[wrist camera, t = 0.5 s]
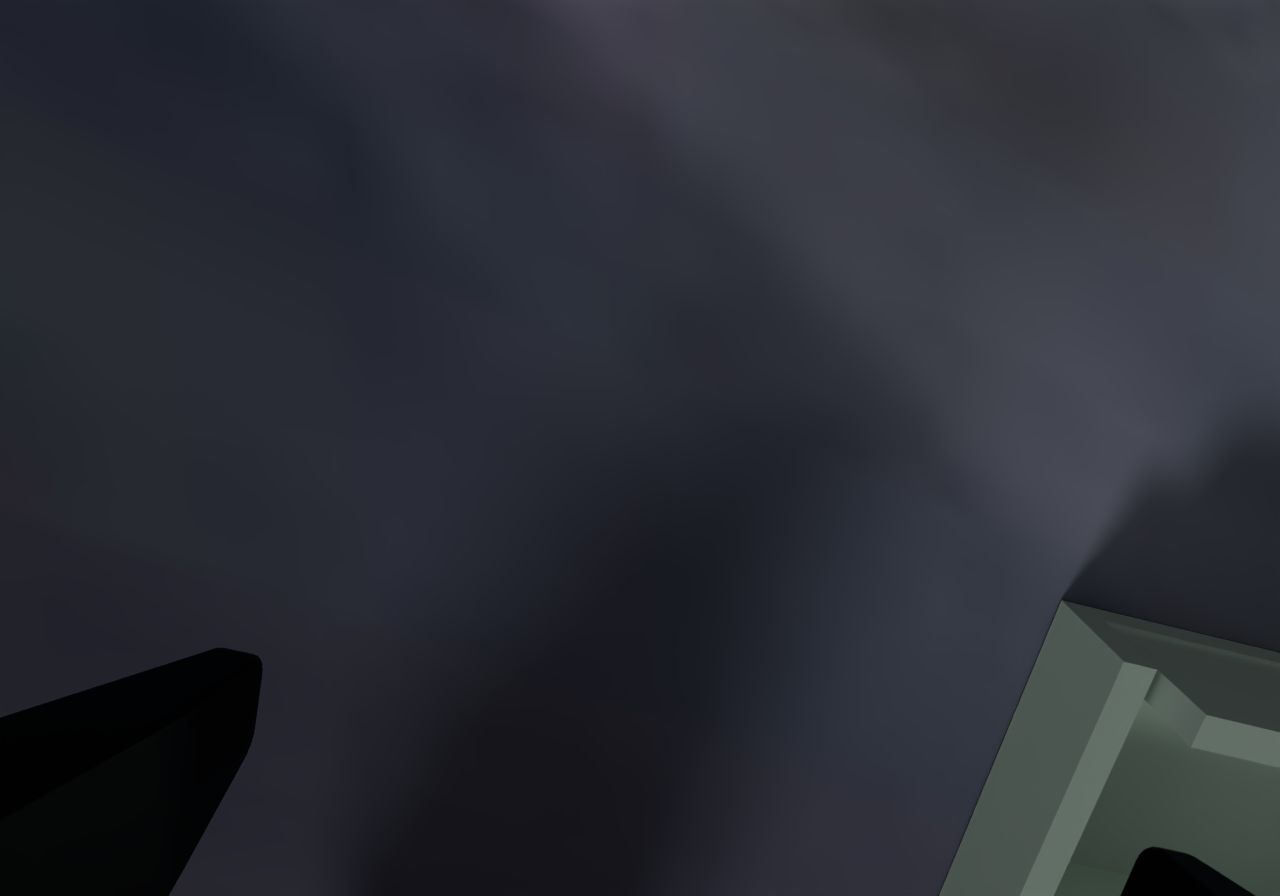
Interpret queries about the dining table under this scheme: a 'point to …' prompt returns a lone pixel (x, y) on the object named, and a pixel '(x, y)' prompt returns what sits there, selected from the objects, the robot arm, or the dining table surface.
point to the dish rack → (1130, 763)
